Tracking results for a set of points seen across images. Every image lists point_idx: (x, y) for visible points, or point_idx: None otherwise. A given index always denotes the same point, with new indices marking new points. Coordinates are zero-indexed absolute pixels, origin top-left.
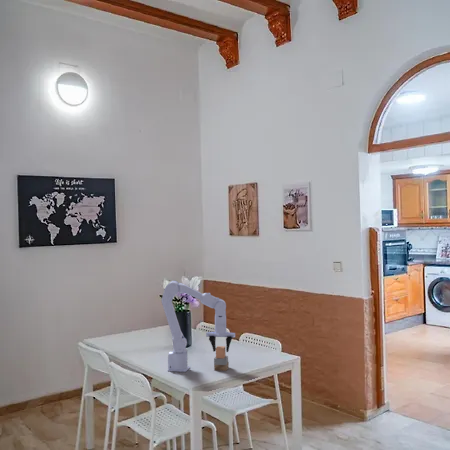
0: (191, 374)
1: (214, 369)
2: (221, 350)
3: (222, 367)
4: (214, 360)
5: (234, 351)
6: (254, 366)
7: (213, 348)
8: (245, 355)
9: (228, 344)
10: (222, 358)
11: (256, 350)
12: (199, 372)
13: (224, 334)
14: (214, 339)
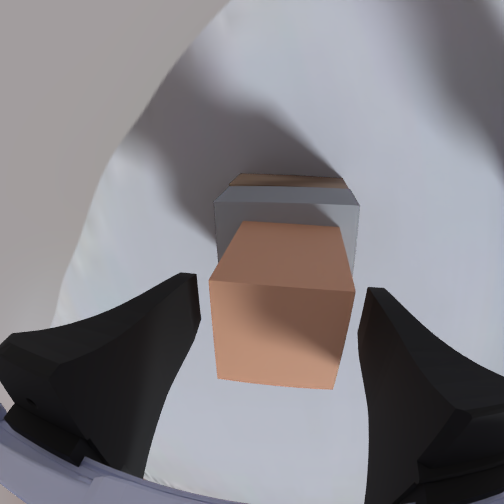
0: (487, 77)
1: (342, 180)
2: (255, 264)
3: (268, 180)
4: (352, 200)
5: (269, 476)
6: (98, 293)
7: (393, 303)
8: (208, 443)
9: (103, 315)
10: (258, 216)
11: (187, 472)
12: (448, 123)
13: (36, 496)
14: (397, 451)
